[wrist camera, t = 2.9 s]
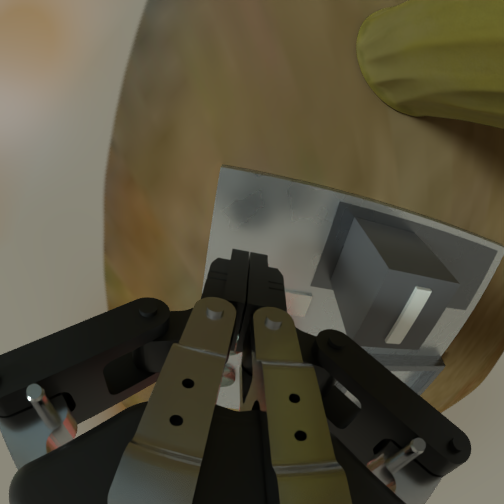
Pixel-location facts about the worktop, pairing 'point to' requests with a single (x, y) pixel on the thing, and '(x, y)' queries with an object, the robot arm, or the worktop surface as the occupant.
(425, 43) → the vase
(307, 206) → the panel
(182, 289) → the worktop surface
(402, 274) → the breaker
